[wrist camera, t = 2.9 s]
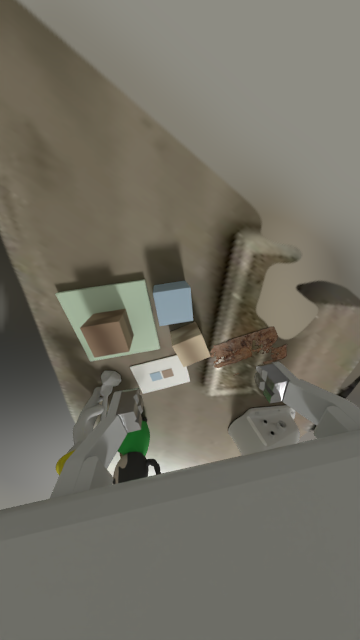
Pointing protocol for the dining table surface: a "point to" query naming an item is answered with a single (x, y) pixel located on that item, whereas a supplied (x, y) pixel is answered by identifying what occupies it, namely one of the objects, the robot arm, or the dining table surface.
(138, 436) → the toy
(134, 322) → the plate
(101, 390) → the figurine
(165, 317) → the blue brick
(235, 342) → the bark
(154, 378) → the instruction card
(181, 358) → the oak brick
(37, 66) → the dining table surface
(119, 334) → the walnut brick
